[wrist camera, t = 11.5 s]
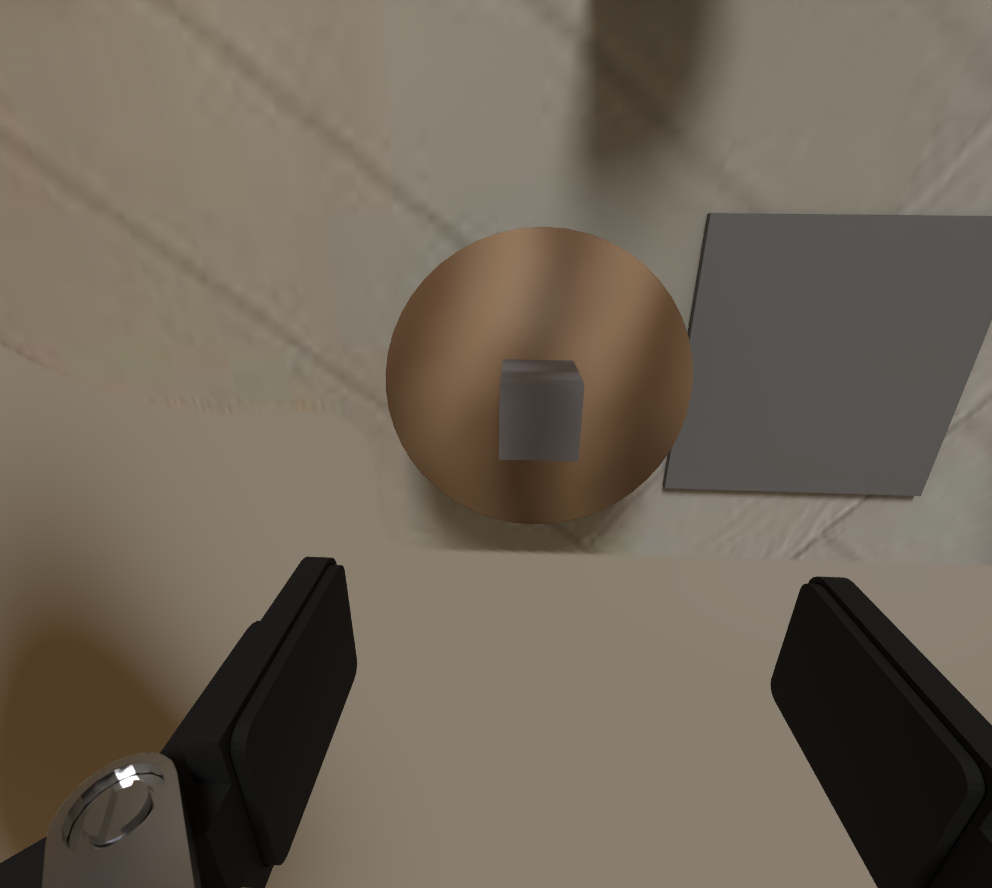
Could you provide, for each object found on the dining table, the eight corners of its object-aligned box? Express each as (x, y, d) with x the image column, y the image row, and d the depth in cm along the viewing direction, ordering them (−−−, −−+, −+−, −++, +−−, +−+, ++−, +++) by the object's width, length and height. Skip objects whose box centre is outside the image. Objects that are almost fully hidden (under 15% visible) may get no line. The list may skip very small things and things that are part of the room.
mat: (1024, 217, 28) (1033, 216, 27) (915, 492, 35) (920, 495, 34) (707, 213, 28) (710, 213, 28) (662, 484, 35) (664, 488, 35)
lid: (711, 228, 23) (766, 224, 18) (663, 518, 29) (694, 577, 24) (377, 226, 23) (339, 222, 18) (400, 511, 30) (376, 566, 25)
